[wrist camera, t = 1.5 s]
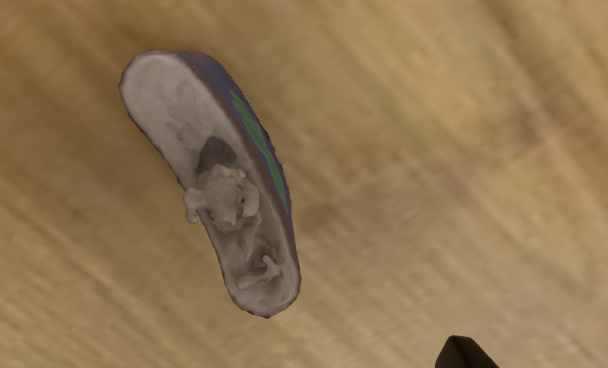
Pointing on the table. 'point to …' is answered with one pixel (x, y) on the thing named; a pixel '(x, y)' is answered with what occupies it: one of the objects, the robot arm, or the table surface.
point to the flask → (220, 170)
